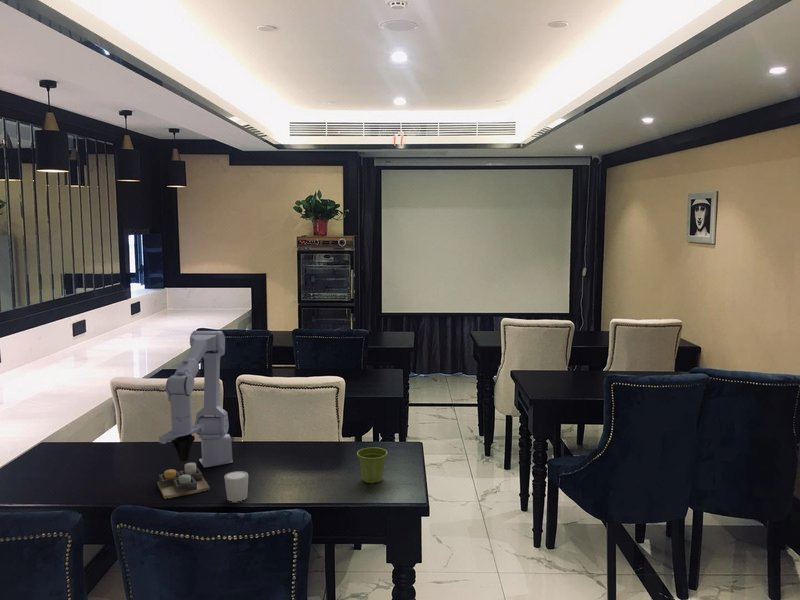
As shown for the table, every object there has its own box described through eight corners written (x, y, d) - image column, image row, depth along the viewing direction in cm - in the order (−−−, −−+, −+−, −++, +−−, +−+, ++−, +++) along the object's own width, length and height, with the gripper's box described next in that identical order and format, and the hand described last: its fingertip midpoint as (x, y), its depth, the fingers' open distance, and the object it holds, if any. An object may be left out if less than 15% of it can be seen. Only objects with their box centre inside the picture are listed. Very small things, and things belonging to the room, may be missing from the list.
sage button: (189, 483, 207) (189, 473, 207) (192, 487, 204) (191, 477, 204) (178, 485, 206) (177, 475, 205) (180, 489, 203) (179, 479, 202)
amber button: (175, 478, 211) (174, 468, 211) (177, 481, 208) (177, 472, 208) (163, 480, 210) (163, 470, 209) (165, 483, 207) (165, 474, 206)
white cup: (227, 494, 202) (226, 471, 202) (250, 493, 203) (249, 470, 202) (223, 503, 196) (222, 480, 195) (247, 502, 196) (246, 479, 195)
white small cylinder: (195, 471, 214) (194, 461, 214) (197, 474, 211) (197, 465, 211) (184, 473, 212) (183, 463, 212) (186, 476, 210) (185, 467, 209)
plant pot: (392, 476, 215) (391, 449, 214) (381, 487, 206) (381, 459, 205) (364, 472, 218) (363, 446, 217) (352, 483, 209) (351, 456, 208)
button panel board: (200, 476, 216) (200, 467, 216) (209, 490, 205) (209, 480, 205) (157, 484, 210) (156, 475, 210) (164, 499, 199) (163, 489, 199)
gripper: (192, 407, 210) (194, 450, 212) (151, 419, 199) (154, 465, 200) (208, 411, 206) (210, 455, 208) (166, 423, 195) (169, 470, 196)
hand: (183, 460), depth 204 cm, fingers closed
